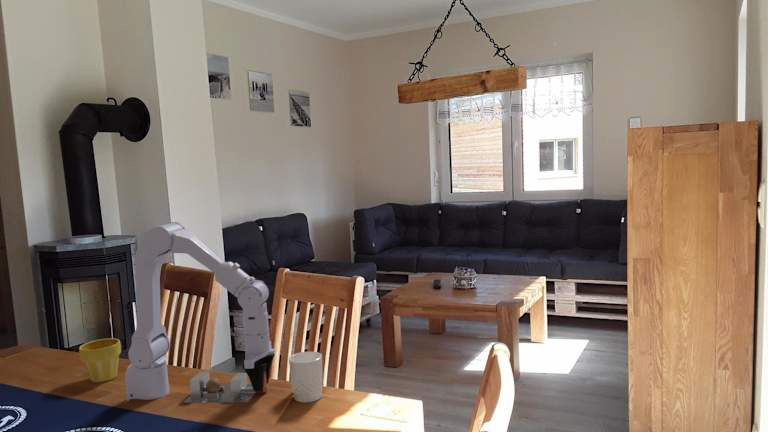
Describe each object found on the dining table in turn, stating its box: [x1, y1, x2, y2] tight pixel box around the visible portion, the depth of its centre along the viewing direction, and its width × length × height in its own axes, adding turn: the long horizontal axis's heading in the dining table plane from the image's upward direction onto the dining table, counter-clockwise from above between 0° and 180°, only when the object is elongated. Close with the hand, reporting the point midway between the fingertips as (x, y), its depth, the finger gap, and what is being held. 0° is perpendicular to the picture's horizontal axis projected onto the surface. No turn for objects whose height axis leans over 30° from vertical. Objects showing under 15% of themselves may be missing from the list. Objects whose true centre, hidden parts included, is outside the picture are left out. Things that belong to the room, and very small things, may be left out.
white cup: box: [288, 351, 323, 404], centre depth 145 cm, size 8×8×10 cm
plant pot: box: [78, 337, 122, 383], centre depth 166 cm, size 10×10×10 cm
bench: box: [182, 370, 257, 404], centre depth 147 cm, size 16×11×6 cm
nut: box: [206, 377, 222, 393], centre depth 148 cm, size 4×4×4 cm
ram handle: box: [230, 370, 268, 395], centre depth 146 cm, size 8×5×5 cm, turn 83°
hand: (261, 387), depth 146 cm, fingers open, 4 cm apart
